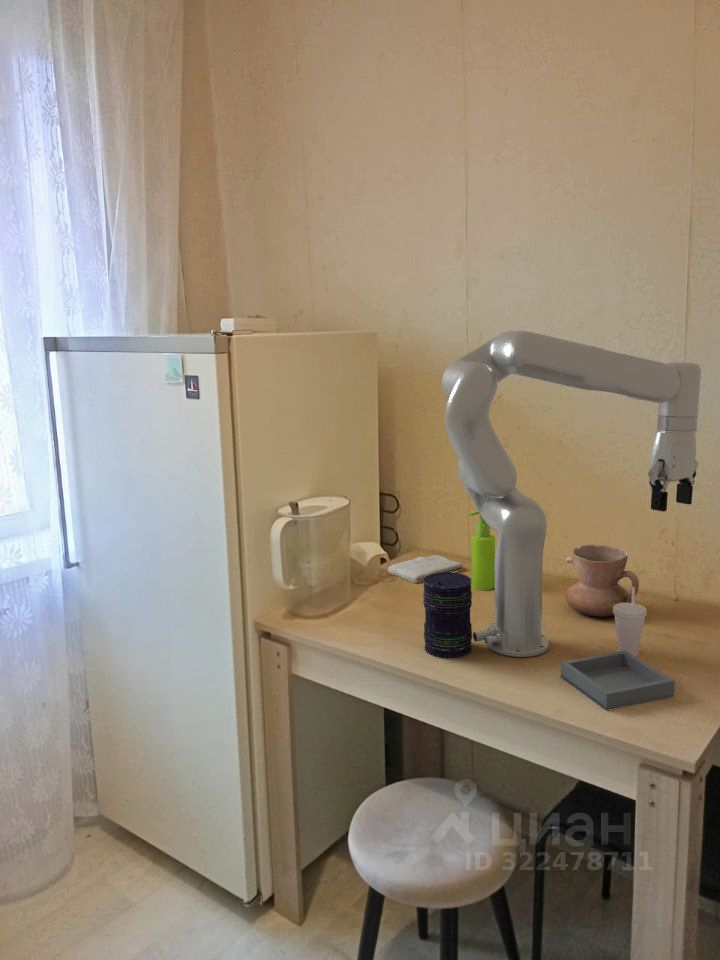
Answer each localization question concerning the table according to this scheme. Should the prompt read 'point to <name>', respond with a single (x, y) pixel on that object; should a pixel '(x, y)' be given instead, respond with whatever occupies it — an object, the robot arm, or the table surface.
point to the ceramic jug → (599, 579)
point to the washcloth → (423, 567)
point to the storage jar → (447, 615)
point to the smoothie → (629, 625)
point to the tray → (617, 679)
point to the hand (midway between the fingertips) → (671, 506)
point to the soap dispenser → (482, 556)
